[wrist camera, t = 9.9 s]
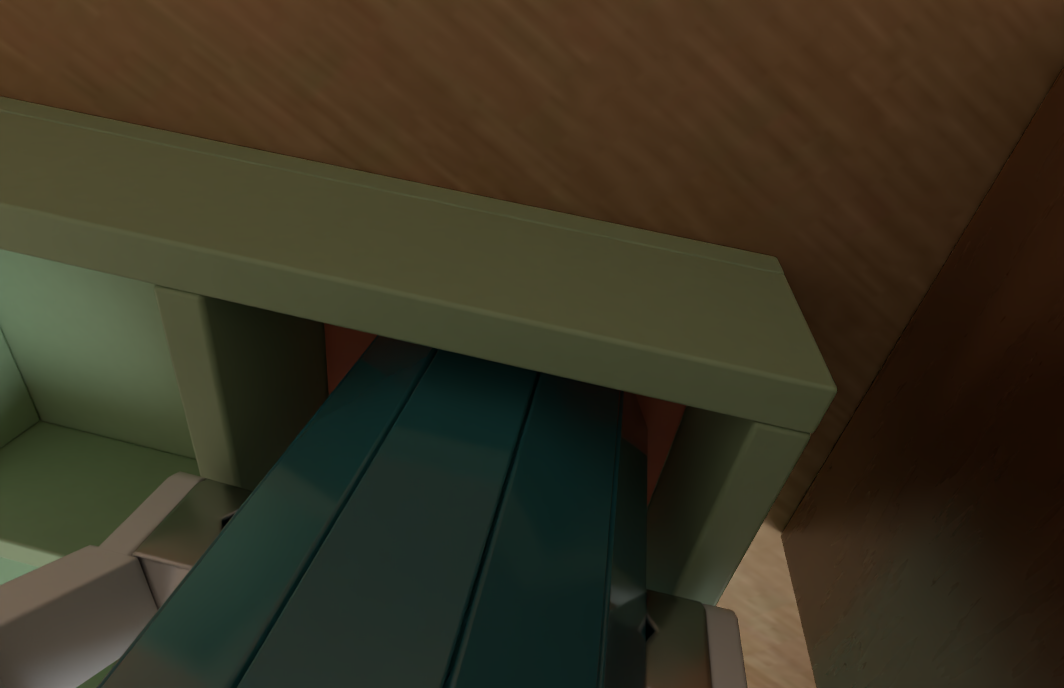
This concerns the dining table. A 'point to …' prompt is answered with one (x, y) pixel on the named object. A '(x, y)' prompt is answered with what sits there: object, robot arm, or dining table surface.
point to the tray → (354, 330)
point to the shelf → (955, 466)
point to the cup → (425, 542)
